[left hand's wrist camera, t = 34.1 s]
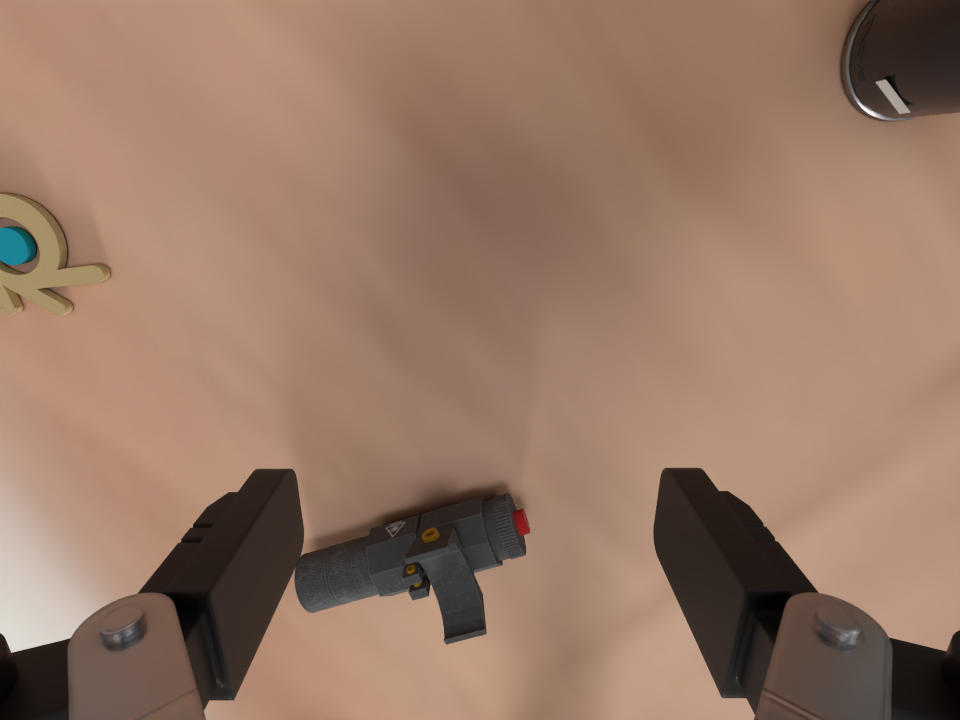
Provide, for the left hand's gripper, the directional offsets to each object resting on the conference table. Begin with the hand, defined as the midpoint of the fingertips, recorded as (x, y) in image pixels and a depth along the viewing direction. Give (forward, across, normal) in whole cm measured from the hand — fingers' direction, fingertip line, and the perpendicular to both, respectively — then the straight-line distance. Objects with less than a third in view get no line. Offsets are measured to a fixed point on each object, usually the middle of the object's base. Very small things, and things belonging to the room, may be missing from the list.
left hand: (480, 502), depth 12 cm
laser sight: (+35, -6, -28) cm, 45 cm away
